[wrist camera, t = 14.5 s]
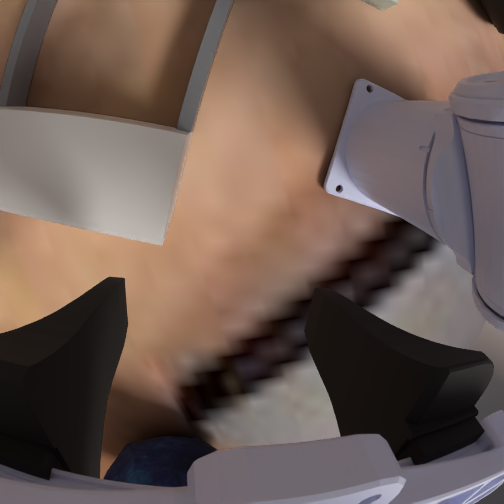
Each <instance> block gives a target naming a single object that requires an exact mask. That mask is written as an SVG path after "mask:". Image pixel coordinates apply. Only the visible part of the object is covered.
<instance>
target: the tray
mask: <svg viewBox="0 0 504 504" xmlns="http://www.w3.org/2000/svg"><path fill="white" fill-rule="evenodd" d="M362 1H364V2H366V3H368V4H370V5H372V6H374V7H376V8H378V9H380V10H382V11H383V10H385V9H387V8H389V7H392V6H394V5H396V4H397V2H398V0H362Z"/></svg>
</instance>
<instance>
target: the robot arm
mask: <svg viewBox="0 0 504 504" xmlns="http://www.w3.org/2000/svg"><path fill="white" fill-rule="evenodd" d="M367 86H369V87H370V89H371V91H370V92H368V91H367V89H366V87H367ZM338 185H340V186H341V189H340V190H339V191H336V187H337V186H338ZM324 190H325V191H326V192H328V193H329V194H332V195H335V196H339V197H342V198H345V199H348V200H351V201H354V202H357V203H361V204H364V205H367V206H370V207H373V208H376V209H379V210H382V211H384V212H387V213H390V214H393V215H396V216H399V217H401V218H403V219H405V220H406V221H408V222H410V223H411V224H413V225H415V226H416V227H418V228H420V229H421V230H423V231H425V232H426V233H428V234H429V235H431V236H433V237H434V238H436V239H437V240H439V241H441V242H442V243H444V244H445V245H447V246H448V247H450V248H451V249H452V250H453V251H454V253H455V255H456V260H457V264H458V265H460V266H461V267H462V268H464V269H465V270H467V271H468V272H469V273H471V274H472V275H473V274H474V275H473V278H472V294H473V298H474V302H475V304H476V307H477V309H478V310H479V312H480V313H481V315H482V316H483V317H484V318H485V319H486V320H487V321H488V322H489V323H490V324H491V325H493V326H494V327H495V328H497V329H499V330H500V331H502V332H504V72H494V73H486V74H480V75H475V76H471V77H467V78H464V79H462V80H460V81H459V82H458V84H457V85H456V87H455V89H454V91H453V92H451V93H450V95H449V101H427V100H412V101H407V100H405V99H404V98H402V97H400V96H398V95H396V94H394V93H392V92H390V91H388V90H386V89H384V88H382V87H380V86H378V85H376V84H374V83H372V82H370V81H368V80H366V79H358V80H356V81H355V83H354V86H353V90H352V93H351V97H350V100H349V104H348V107H347V111H346V114H345V117H344V121H343V124H342V127H341V131H340V134H339V137H338V140H337V144H336V147H335V150H334V153H333V157H332V160H331V163H330V166H329V169H328V172H327V175H326V179H325V182H324ZM127 327H128V317H127V306H126V292H125V278H118V277H108V278H106V279H105V280H103V281H102V282H100V283H99V284H97V285H96V286H94V287H93V288H92V289H90V290H89V291H87V292H86V293H84V294H83V295H81V296H80V297H79V298H77V299H75V300H74V301H72V302H71V303H69V304H67V305H66V306H64V307H63V308H61V309H59V310H58V311H56V312H54V313H52V314H50V315H48V316H46V317H44V318H42V319H40V320H38V321H35V322H33V323H30V324H28V325H25V326H23V327H20V328H18V329H15V330H11V331H8V332H5V333H1V334H0V504H474V503H476V502H477V501H479V500H480V499H482V498H483V497H485V496H487V495H488V494H490V493H491V492H492V491H494V490H495V489H496V488H497V487H499V486H500V485H501V484H502V483H503V482H504V411H503V410H499V411H497V412H495V413H493V414H491V415H489V416H487V417H485V418H484V419H482V420H481V421H480V422H478V421H477V419H476V418H475V416H477V415H478V410H477V409H476V407H475V406H474V405H475V404H476V403H477V401H478V400H479V398H480V397H481V395H482V394H483V392H484V391H485V389H486V387H487V386H488V384H489V382H490V381H491V378H492V375H493V371H494V370H493V369H494V365H493V362H492V361H491V360H490V359H489V358H488V357H487V356H486V355H485V354H484V353H482V352H480V351H474V350H467V349H461V348H456V347H451V346H447V345H443V344H440V343H436V342H433V341H430V340H427V339H424V338H421V337H418V336H416V335H413V334H411V333H408V332H406V331H404V330H402V329H400V328H397V327H395V326H393V325H391V324H389V323H387V322H386V321H384V320H382V319H380V318H378V317H377V316H375V315H373V314H372V313H370V312H368V311H367V310H365V309H363V308H362V307H360V306H359V305H357V304H355V303H354V302H352V301H351V300H349V299H348V298H346V297H344V296H343V295H341V294H339V293H338V292H336V291H334V290H332V289H330V288H315V290H314V294H313V298H312V302H311V306H310V310H309V314H308V318H307V322H306V326H305V330H304V331H305V335H306V339H307V343H308V347H309V350H310V353H311V356H312V358H313V360H314V363H315V365H316V367H317V369H318V372H319V374H320V376H321V378H322V381H323V383H324V385H325V387H326V390H327V392H328V394H329V397H330V400H331V402H332V406H333V409H334V413H335V416H336V419H337V423H338V427H339V431H340V435H341V437H337V438H330V439H323V440H316V441H308V442H299V443H289V444H277V445H262V446H243V447H236V448H230V449H223V450H217V451H215V452H212V453H210V454H208V455H206V456H203V457H201V458H199V459H197V460H196V461H194V462H193V464H192V466H191V467H190V469H189V471H188V472H187V485H188V486H184V487H161V486H150V485H140V484H132V483H124V482H117V481H111V480H105V479H100V459H101V444H102V435H103V426H104V418H105V412H106V405H107V399H108V395H109V391H110V388H111V385H112V381H113V378H114V375H115V372H116V369H117V366H118V363H119V360H120V356H121V353H122V350H123V347H124V343H125V338H126V333H127Z"/></svg>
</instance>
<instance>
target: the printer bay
mask: <svg viewBox="0 0 504 504" xmlns="http://www.w3.org/2000/svg"><path fill="white" fill-rule="evenodd" d="M56 3H57V0H28V2H27V4H26V7H25V9H24V12H23V14H22V17H21V20H20V22H19V25H18V28H17V31H16V34H15V37H14V40H13V43H12V46H11V50H10V53H9V57H8V60H7V64H6V68H5V71H4V75H3V80H2V84H1V88H0V211H5V212H9V213H14V214H18V215H23V216H27V217H31V218H36V219H40V220H45V221H50V222H54V223H59V224H63V225H68V226H72V227H77V228H81V229H86V230H91V231H95V232H100V233H105V234H109V235H114V236H119V237H123V238H128V239H133V240H137V241H142V242H147V243H152V244H156V245H161V246H162V245H163V242H164V239H165V236H166V233H167V230H168V227H169V224H170V221H171V218H172V215H173V212H174V209H175V204H176V200H177V195H178V191H179V186H180V182H181V178H182V173H183V169H184V165H185V161H186V157H187V153H188V149H189V145H190V141H191V137H192V133H193V129H194V126H195V122H196V118H197V115H198V111H199V108H200V104H201V101H202V97H203V94H204V90H205V87H206V84H207V80H208V77H209V74H210V70H211V67H212V64H213V61H214V58H215V55H216V52H217V49H218V45H219V42H220V39H221V37H222V34H223V31H224V28H225V25H226V22H227V19H228V16H229V14H230V11H231V8H232V5H233V3H234V0H217V1H216V4H215V6H214V9H213V12H212V14H211V17H210V20H209V23H208V25H207V28H206V31H205V34H204V37H203V40H202V43H201V46H200V49H199V52H198V55H197V58H196V61H195V64H194V68H193V71H192V74H191V77H190V81H189V84H188V87H187V91H186V94H185V98H184V101H183V105H182V109H181V112H180V116H179V120H178V124H177V127H176V128H175V127H170V126H165V125H160V124H154V123H149V122H144V121H138V120H132V119H126V118H120V117H114V116H107V115H100V114H93V113H86V112H78V111H69V110H60V109H50V108H39V107H26V102H27V97H28V93H29V88H30V84H31V80H32V76H33V72H34V68H35V65H36V61H37V58H38V54H39V51H40V48H41V44H42V41H43V38H44V35H45V32H46V29H47V27H48V24H49V21H50V18H51V16H52V13H53V10H54V8H55V5H56Z"/></svg>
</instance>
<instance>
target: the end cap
mask: <svg viewBox="0 0 504 504" xmlns="http://www.w3.org/2000/svg"><path fill="white" fill-rule="evenodd" d="M480 2H481V3H482V5H483V7H484V8H485V10H486V12H487V14H488V16H489V17H490V19H491V21H492V23H493V25H494V27H496V29H497V30H498V32H499V33H502V34H504V0H480Z"/></svg>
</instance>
